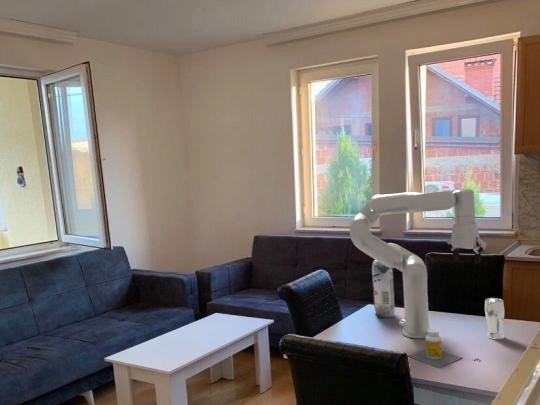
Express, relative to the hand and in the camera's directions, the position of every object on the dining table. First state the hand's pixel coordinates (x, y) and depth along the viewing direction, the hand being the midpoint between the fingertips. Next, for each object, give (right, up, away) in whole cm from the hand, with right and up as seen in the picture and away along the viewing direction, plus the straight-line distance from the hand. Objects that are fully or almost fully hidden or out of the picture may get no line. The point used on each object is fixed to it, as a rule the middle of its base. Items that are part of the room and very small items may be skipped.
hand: (466, 261), depth 184 cm
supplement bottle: (-20, -33, -18) cm, 42 cm away
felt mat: (-20, -33, -18) cm, 42 cm away
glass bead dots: (-6, -32, -22) cm, 40 cm away
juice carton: (-25, -30, +34) cm, 52 cm away
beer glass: (+10, -30, -2) cm, 32 cm away
